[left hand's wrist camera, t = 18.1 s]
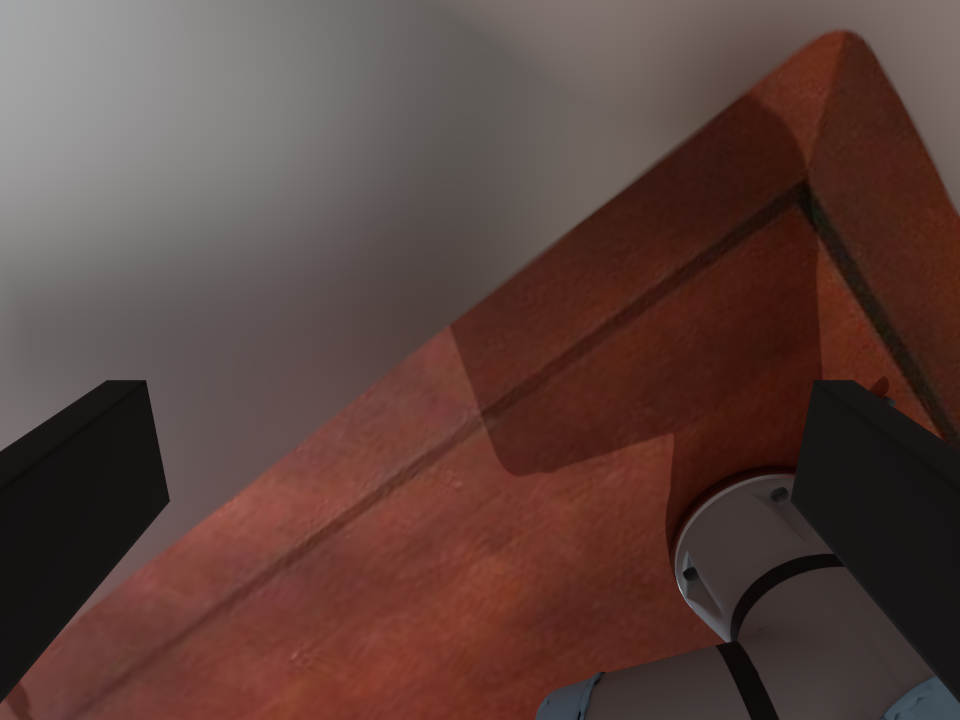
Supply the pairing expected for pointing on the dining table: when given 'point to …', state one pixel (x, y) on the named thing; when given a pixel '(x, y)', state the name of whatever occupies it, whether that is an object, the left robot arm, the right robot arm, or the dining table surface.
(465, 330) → the dining table surface
